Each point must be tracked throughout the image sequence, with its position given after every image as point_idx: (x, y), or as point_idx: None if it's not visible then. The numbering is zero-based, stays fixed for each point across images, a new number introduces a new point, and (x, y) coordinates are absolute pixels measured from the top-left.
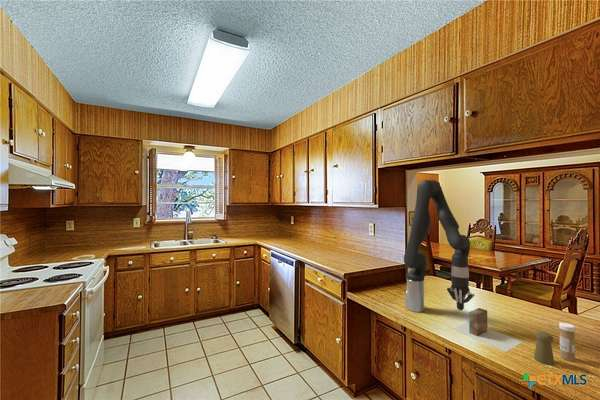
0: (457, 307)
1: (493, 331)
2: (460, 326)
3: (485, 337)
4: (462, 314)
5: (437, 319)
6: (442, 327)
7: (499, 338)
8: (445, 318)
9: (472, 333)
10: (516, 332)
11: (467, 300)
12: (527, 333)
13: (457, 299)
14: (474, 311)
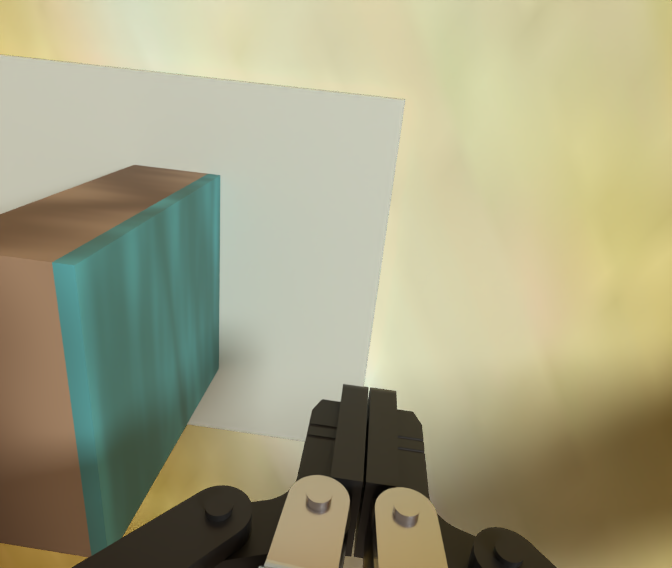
0: (405, 419)
1: None
2: (358, 266)
3: None
4: None
5: (642, 266)
6: (509, 80)
7: None
8: (571, 363)
9: (182, 173)
10: None
11: (106, 553)
12: (4, 546)
13: (399, 544)
14: (44, 361)
